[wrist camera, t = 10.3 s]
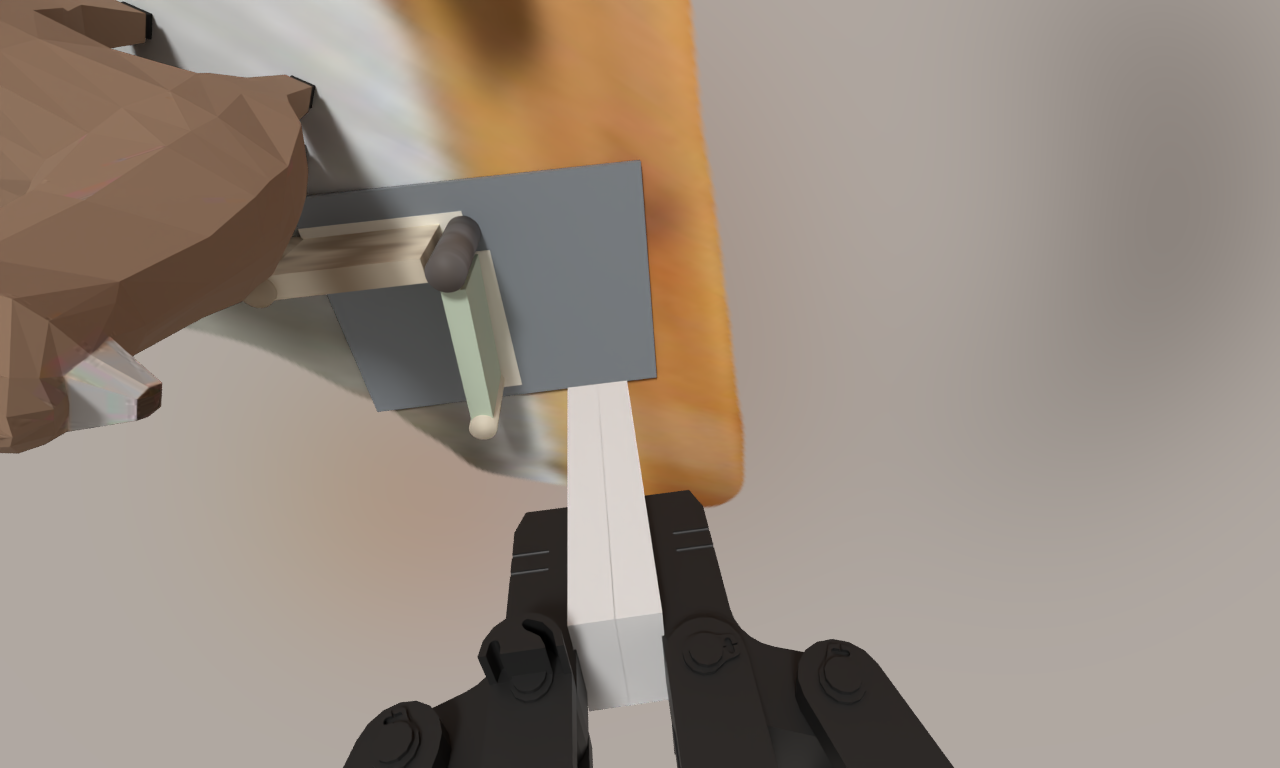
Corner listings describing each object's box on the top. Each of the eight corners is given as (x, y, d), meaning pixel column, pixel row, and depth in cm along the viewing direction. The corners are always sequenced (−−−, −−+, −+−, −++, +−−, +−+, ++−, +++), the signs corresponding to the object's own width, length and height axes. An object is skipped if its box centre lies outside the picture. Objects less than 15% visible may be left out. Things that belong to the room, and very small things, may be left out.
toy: (383, 223, 40) (90, 586, 15) (25, 87, 33) (-1478, 340, 9) (414, 97, 36) (78, 320, 11) (12, -87, 29) (-2878, -512, 5)
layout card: (379, 408, 49) (377, 412, 48) (288, 197, 38) (285, 200, 38) (655, 374, 50) (656, 378, 49) (640, 159, 39) (640, 161, 39)
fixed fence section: (293, 267, 41) (243, 316, 34) (278, 235, 39) (224, 280, 33) (484, 246, 41) (470, 290, 35) (476, 213, 40) (460, 253, 34)
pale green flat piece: (452, 255, 41) (435, 293, 36) (481, 253, 41) (468, 291, 36) (482, 391, 48) (471, 440, 42) (506, 389, 48) (498, 438, 43)
